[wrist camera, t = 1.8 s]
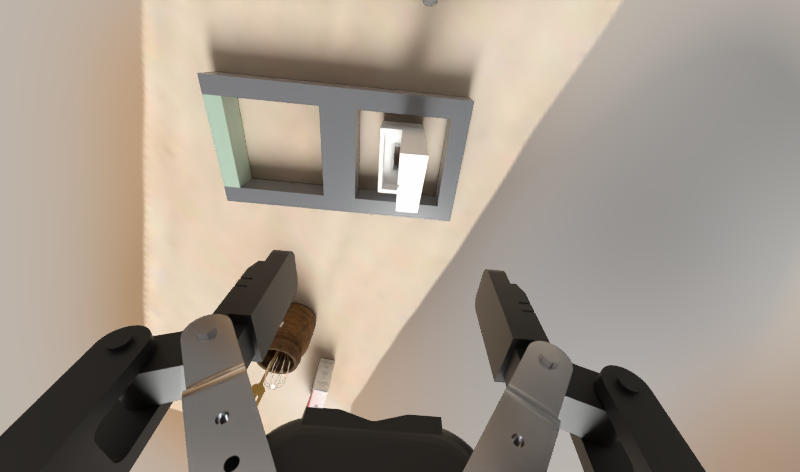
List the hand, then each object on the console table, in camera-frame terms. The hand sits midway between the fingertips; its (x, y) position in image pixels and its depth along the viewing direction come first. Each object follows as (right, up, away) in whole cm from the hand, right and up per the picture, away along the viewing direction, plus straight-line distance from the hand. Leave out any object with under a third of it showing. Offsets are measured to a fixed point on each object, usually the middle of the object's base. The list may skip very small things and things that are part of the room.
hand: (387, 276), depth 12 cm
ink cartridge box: (-12, -22, +36) cm, 44 cm away
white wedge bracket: (+1, +10, +16) cm, 19 cm away
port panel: (-5, +10, +16) cm, 19 cm away
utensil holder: (-14, -9, +28) cm, 33 cm away
